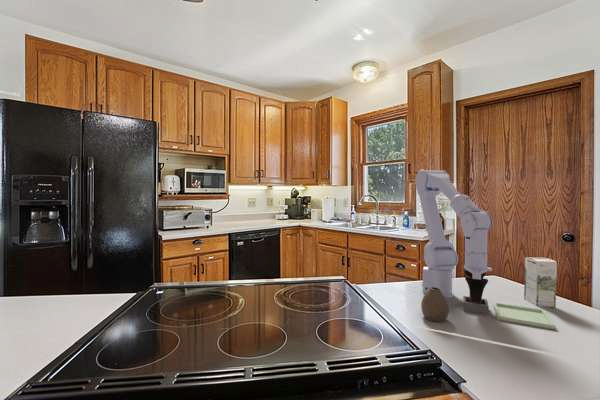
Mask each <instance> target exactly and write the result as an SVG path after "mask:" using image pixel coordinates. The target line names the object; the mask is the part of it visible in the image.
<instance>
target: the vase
mask: <svg viewBox="0 0 600 400" xmlns="http://www.w3.org/2000/svg"><path fill="white" fill-rule="evenodd" d="M420 307H421V312H422V315H423V316H424V318H425V319H426V320H428V321H431V322H434V323H444V322H445V321H446V320H447V319H448V317H449V314H450V306H449V302H448V299H447V298H446V297H445V296H444V295H443V294H442V293H441V291H440V289H439V288H437V287H431V288H430V290H429V291H428V292H427V293H426V294H425V293H424V296H423V297H422V299H421V305H420Z"/></svg>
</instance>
